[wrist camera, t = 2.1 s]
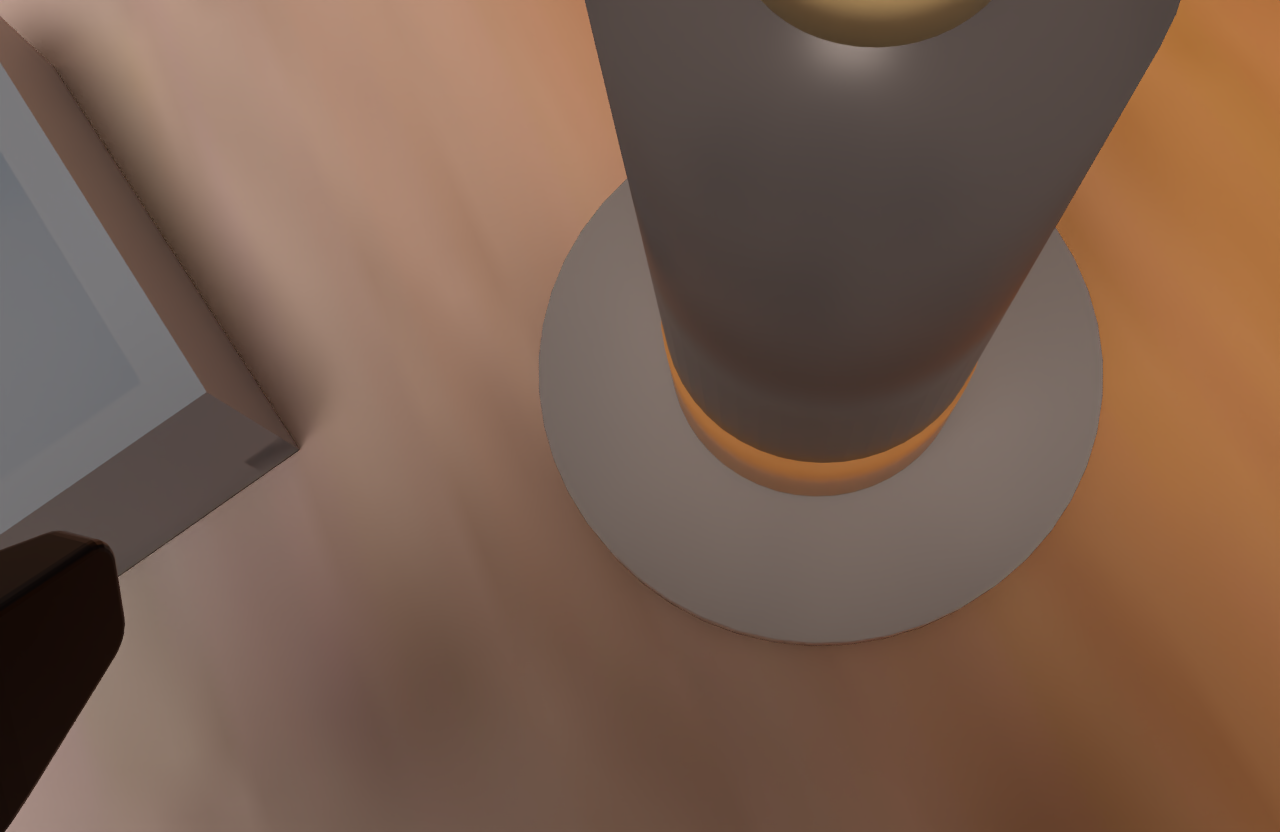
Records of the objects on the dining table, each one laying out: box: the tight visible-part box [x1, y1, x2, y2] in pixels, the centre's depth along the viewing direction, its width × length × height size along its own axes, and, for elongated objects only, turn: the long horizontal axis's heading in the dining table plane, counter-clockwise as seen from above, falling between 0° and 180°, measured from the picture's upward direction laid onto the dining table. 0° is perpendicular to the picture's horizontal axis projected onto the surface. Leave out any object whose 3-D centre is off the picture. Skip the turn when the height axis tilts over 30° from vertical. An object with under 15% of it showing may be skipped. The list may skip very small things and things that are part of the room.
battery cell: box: [585, 0, 1180, 496], centre depth 15 cm, size 5×5×13 cm
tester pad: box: [539, 179, 1103, 646], centre depth 22 cm, size 10×10×1 cm
